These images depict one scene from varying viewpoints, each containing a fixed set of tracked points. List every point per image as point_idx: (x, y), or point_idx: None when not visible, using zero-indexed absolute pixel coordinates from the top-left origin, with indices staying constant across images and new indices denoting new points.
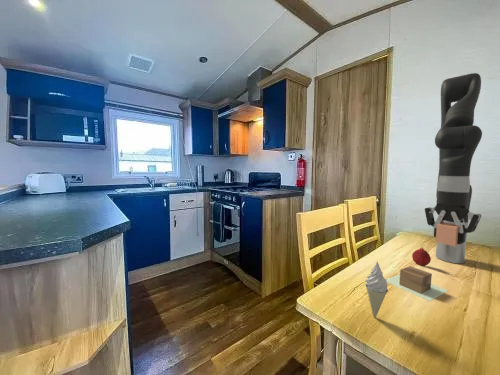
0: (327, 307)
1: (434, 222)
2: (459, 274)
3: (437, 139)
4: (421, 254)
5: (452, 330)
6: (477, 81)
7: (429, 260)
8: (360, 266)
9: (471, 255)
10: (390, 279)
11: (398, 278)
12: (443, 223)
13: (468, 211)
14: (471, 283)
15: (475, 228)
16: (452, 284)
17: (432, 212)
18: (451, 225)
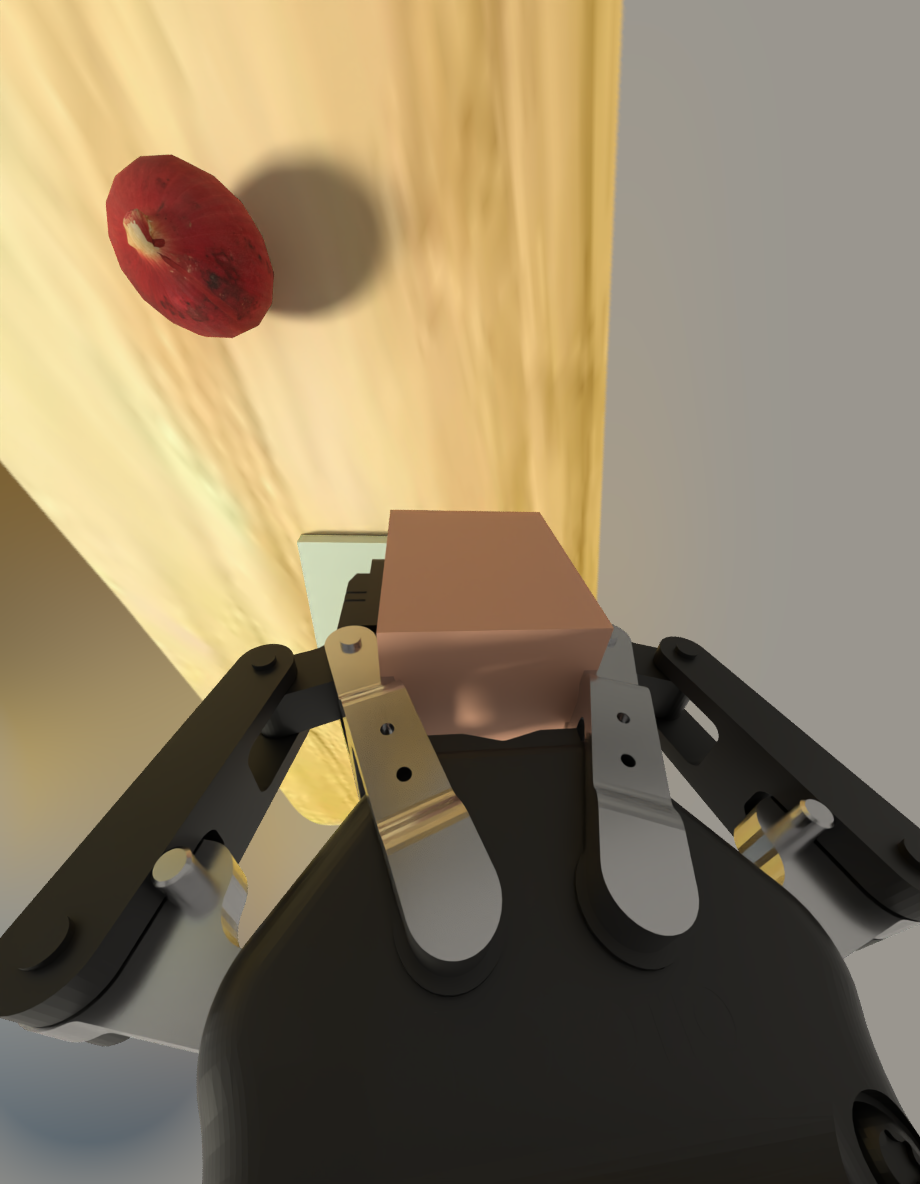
0: (355, 804)
1: (308, 704)
2: (428, 131)
3: None
4: (213, 316)
5: None
6: None
7: (268, 273)
8: (156, 606)
9: None
10: (325, 638)
11: (331, 609)
12: (411, 700)
13: (825, 972)
14: (513, 277)
15: (723, 677)
16: (456, 409)
17: (234, 897)
18: (507, 719)
